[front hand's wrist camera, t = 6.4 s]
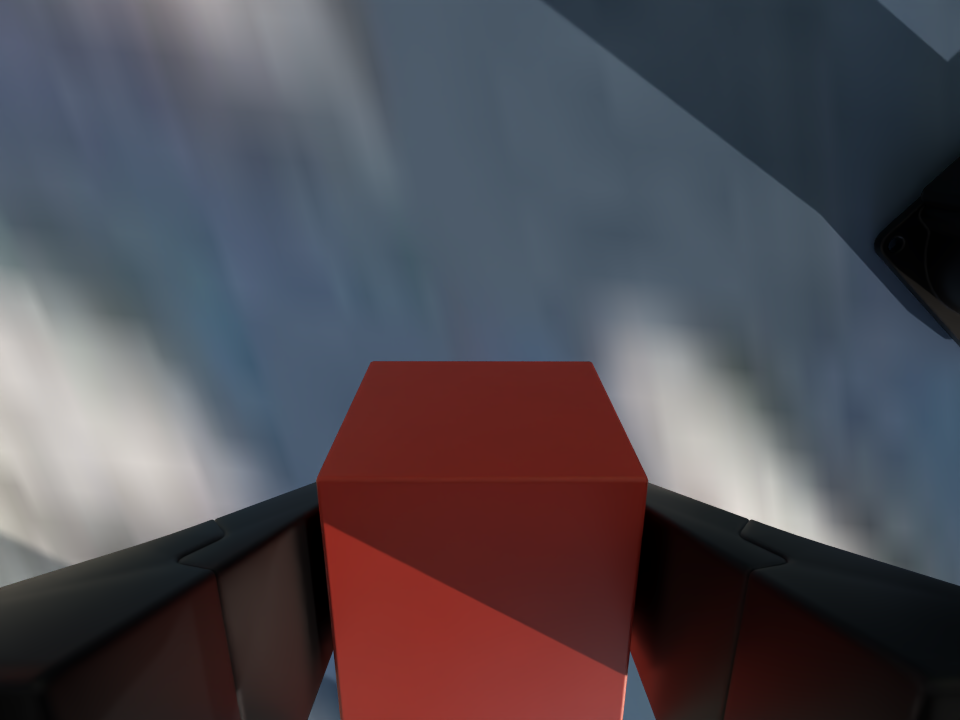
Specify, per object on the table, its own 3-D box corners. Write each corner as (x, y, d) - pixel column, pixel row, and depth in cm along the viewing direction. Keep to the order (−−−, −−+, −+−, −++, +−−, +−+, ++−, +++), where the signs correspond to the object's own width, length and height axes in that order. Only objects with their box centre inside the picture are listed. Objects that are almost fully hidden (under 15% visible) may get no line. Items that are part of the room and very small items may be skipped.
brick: (370, 360, 12) (314, 478, 8) (592, 360, 12) (650, 478, 8) (382, 556, 13) (340, 740, 9) (579, 557, 13) (621, 739, 9)
